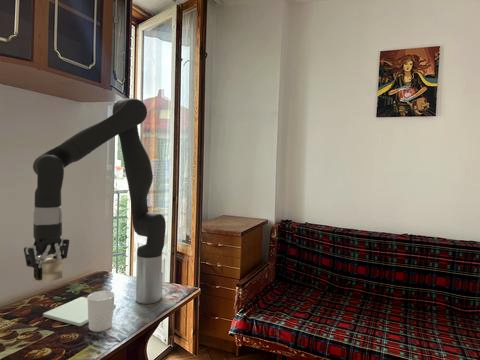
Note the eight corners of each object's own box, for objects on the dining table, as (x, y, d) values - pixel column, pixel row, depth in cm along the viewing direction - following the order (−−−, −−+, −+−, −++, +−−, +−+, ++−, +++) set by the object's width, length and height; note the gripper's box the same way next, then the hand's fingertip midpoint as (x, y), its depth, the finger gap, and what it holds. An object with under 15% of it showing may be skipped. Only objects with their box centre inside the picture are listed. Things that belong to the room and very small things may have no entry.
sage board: (81, 299, 128) (81, 296, 128) (115, 307, 122) (115, 304, 122) (43, 316, 113) (43, 313, 113) (80, 326, 107) (80, 323, 107)
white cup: (82, 326, 107) (83, 295, 107) (106, 318, 113) (107, 289, 113) (93, 335, 102) (94, 302, 102) (118, 327, 108) (119, 295, 107)
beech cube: (49, 275, 107) (49, 257, 107) (62, 277, 105) (62, 260, 105) (32, 280, 102) (32, 262, 102) (46, 283, 100) (46, 264, 100)
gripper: (59, 217, 111) (58, 268, 112) (16, 223, 97) (16, 282, 98) (76, 219, 108) (76, 271, 109) (34, 226, 95) (34, 286, 96)
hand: (47, 276), depth 104 cm, fingers closed on beech cube, 5 cm apart
